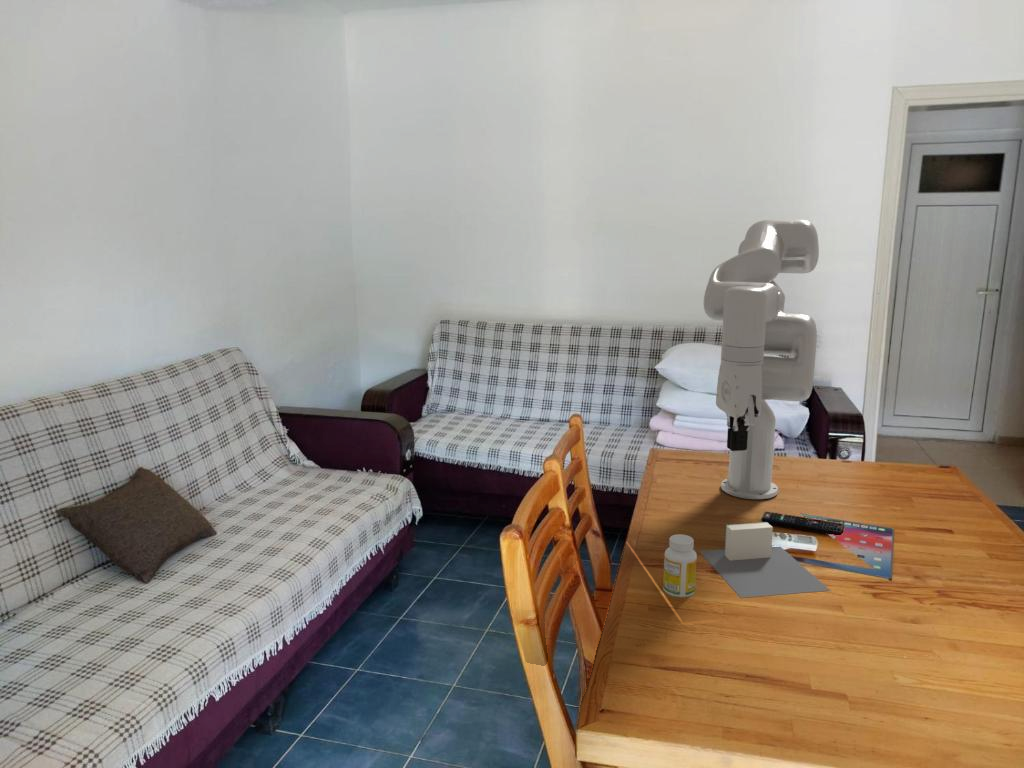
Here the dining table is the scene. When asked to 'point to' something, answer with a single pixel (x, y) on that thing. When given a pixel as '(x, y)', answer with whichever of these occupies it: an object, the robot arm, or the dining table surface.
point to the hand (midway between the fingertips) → (736, 448)
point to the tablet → (862, 548)
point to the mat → (764, 574)
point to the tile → (748, 541)
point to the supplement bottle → (680, 566)
